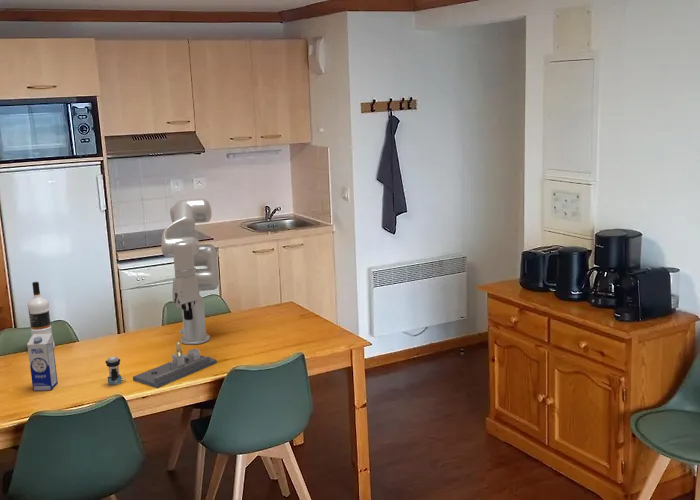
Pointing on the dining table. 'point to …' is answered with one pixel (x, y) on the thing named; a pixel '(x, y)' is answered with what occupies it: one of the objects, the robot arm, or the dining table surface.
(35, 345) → the milk carton
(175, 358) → the sliding leg
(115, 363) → the push button
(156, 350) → the dining table surface
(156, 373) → the bolt plate
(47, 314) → the vodka
